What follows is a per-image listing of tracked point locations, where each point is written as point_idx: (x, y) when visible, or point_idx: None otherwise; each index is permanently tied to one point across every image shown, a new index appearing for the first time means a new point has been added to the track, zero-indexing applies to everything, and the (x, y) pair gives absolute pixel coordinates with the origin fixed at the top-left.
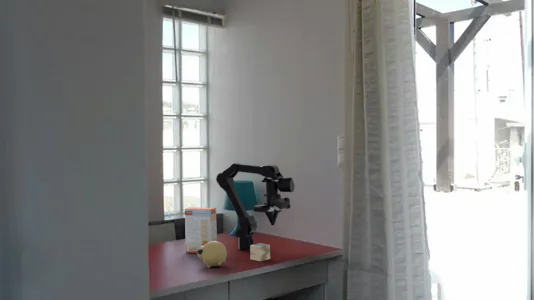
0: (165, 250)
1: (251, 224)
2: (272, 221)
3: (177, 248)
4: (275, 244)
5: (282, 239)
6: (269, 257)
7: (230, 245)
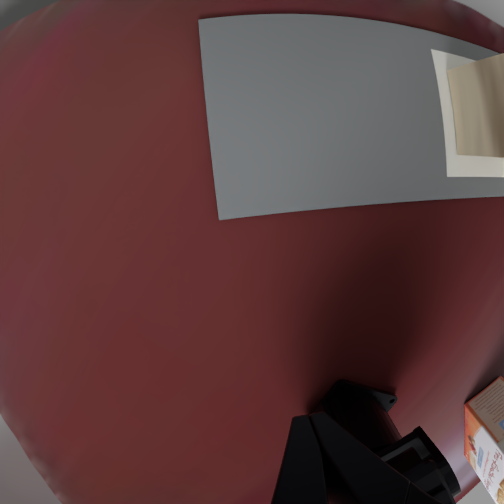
0: None
1: (444, 489)
2: (370, 451)
3: None
4: (129, 414)
5: (53, 451)
6: (456, 69)
7: None
